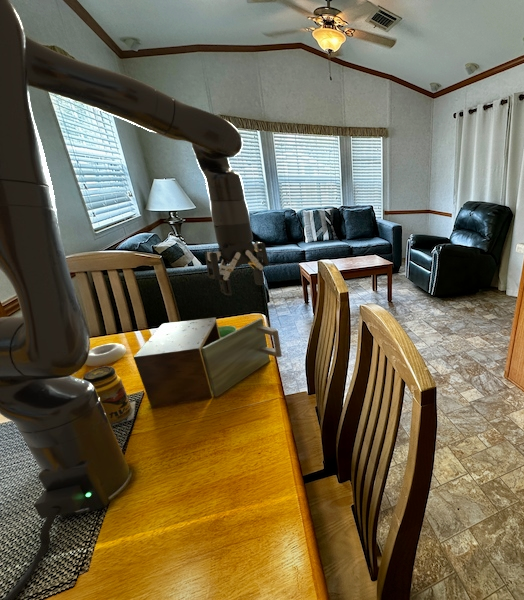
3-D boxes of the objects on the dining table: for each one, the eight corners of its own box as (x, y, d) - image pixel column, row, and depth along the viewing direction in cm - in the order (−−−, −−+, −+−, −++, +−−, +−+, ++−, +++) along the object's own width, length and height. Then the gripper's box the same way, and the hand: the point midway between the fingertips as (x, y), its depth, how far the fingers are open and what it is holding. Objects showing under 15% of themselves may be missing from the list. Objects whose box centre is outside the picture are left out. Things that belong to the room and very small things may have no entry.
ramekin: (220, 336, 111) (217, 324, 109) (244, 338, 110) (242, 326, 108) (201, 349, 102) (198, 337, 101) (228, 351, 101) (225, 339, 100)
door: (288, 365, 94) (281, 322, 89) (236, 404, 78) (224, 354, 73) (267, 360, 96) (259, 318, 91) (213, 396, 81) (201, 348, 76)
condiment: (133, 419, 74) (116, 374, 69) (83, 435, 70) (62, 388, 65) (136, 401, 80) (120, 359, 75) (90, 415, 75) (70, 371, 71)
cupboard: (225, 360, 97) (215, 317, 92) (212, 397, 81) (198, 348, 76) (176, 367, 93) (162, 323, 88) (151, 408, 77) (133, 357, 72)
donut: (91, 373, 91) (133, 356, 99) (86, 362, 90) (129, 346, 98) (79, 362, 96) (119, 347, 104) (74, 352, 95) (116, 338, 103)
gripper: (248, 217, 81) (258, 279, 86) (189, 223, 69) (206, 295, 75) (269, 218, 77) (278, 283, 83) (211, 226, 66) (226, 301, 71)
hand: (244, 289), depth 79 cm, fingers open, 8 cm apart
